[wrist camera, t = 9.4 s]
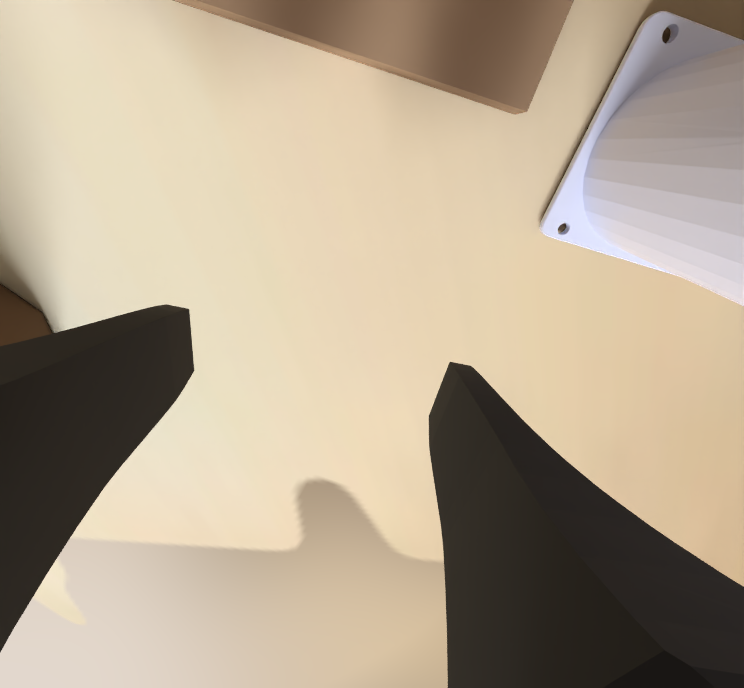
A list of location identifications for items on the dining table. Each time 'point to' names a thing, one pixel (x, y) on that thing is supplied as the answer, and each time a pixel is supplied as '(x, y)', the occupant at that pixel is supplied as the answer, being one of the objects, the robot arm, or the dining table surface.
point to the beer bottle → (19, 319)
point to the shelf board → (423, 39)
